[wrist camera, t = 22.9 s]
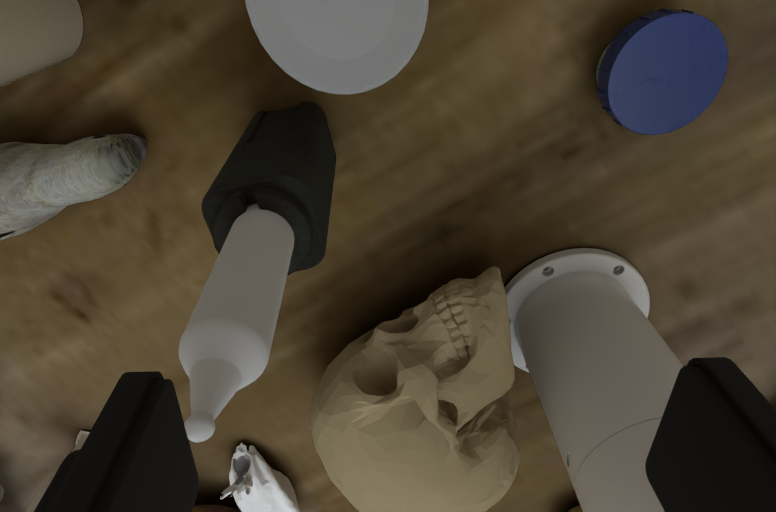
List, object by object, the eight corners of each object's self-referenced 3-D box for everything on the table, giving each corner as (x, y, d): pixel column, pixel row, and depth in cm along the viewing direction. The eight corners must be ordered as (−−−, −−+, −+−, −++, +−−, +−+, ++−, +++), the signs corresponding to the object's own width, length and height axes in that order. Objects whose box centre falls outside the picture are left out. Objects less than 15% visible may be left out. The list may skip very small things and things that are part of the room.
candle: (269, 185, 38) (148, 509, 16) (245, 114, 35) (61, 389, 14) (340, 170, 37) (310, 481, 16) (320, 98, 35) (253, 352, 13)
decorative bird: (168, 175, 37) (127, 224, 31) (-38, 231, 39) (-118, 288, 32) (129, 99, 34) (75, 135, 28) (-90, 162, 36) (-189, 210, 30)
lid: (735, 22, 31) (753, 26, 30) (677, 137, 34) (691, 146, 33) (626, -5, 30) (639, -2, 29) (578, 116, 33) (588, 123, 32)
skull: (495, 305, 29) (241, 465, 35) (654, 499, 33) (403, 611, 40) (477, 220, 41) (292, 350, 48) (594, 370, 46) (411, 471, 52)
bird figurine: (273, 506, 46) (312, 535, 53) (266, 433, 50) (302, 469, 58) (219, 525, 46) (265, 551, 53) (217, 450, 50) (259, 484, 58)
